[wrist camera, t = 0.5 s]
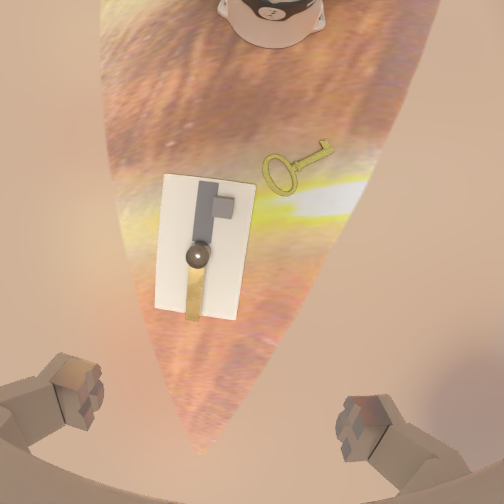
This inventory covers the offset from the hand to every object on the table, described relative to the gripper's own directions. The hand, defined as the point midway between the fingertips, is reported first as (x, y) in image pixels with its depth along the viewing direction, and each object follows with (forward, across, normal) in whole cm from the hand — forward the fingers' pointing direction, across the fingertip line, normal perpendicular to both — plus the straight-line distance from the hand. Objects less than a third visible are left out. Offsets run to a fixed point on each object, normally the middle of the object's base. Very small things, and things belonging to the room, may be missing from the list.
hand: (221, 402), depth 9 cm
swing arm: (+42, +6, +12) cm, 44 cm away
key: (+44, -8, -9) cm, 45 cm away
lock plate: (+43, +6, +7) cm, 44 cm away
